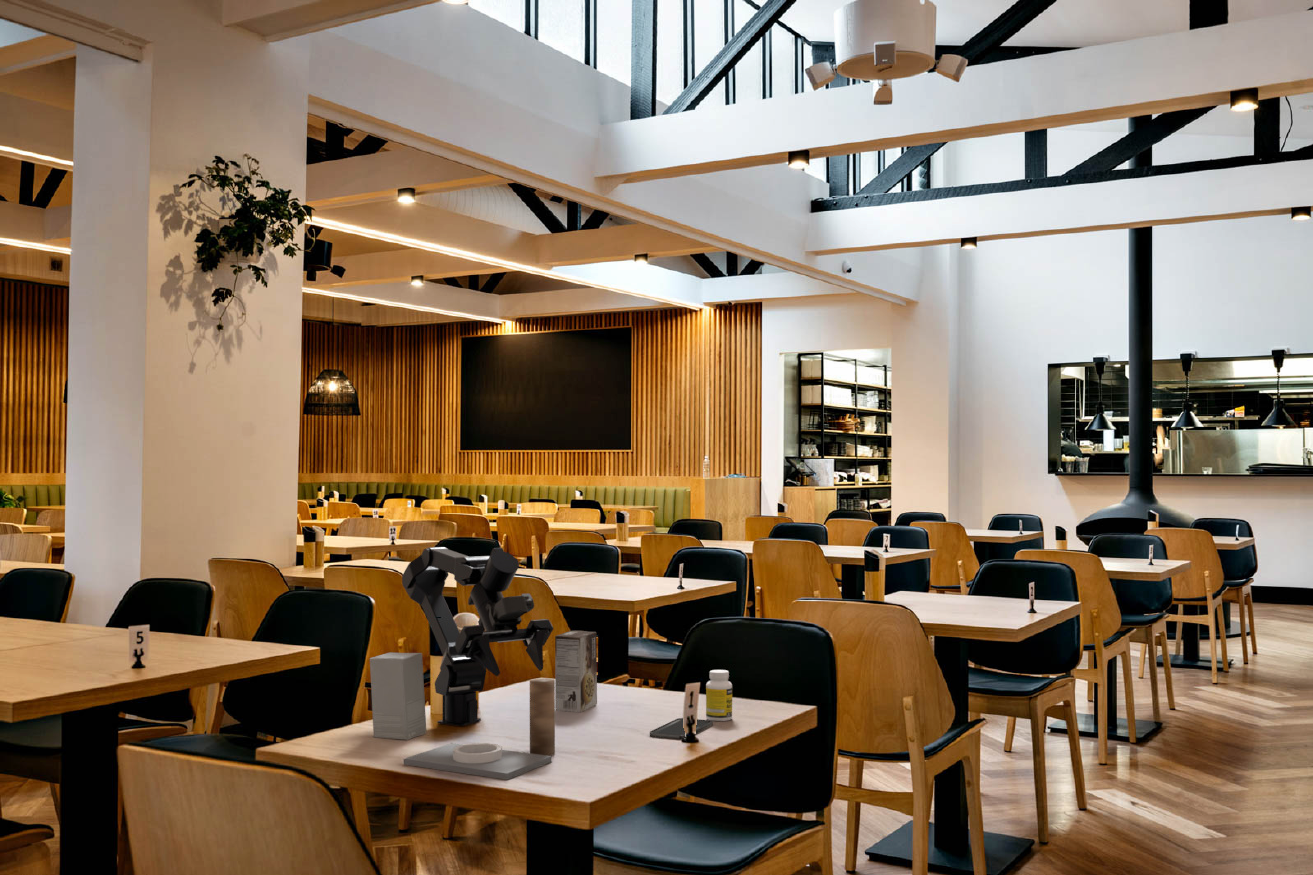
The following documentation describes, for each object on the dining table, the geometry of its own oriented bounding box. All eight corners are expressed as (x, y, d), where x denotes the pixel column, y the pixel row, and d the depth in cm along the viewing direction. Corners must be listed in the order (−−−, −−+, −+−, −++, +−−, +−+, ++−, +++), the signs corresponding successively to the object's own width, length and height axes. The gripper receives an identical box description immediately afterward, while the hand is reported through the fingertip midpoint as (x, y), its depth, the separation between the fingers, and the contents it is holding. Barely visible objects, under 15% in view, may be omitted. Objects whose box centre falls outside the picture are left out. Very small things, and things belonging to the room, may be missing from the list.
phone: (647, 732, 208) (679, 717, 221) (647, 738, 207) (679, 723, 221) (685, 736, 204) (715, 720, 218) (685, 742, 204) (715, 726, 218)
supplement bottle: (730, 722, 220) (730, 673, 220) (704, 721, 221) (703, 672, 221) (734, 716, 225) (733, 669, 226) (708, 716, 226) (707, 668, 227)
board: (403, 764, 187) (403, 749, 187) (451, 748, 199) (451, 734, 199) (507, 779, 177) (507, 764, 177) (551, 761, 188) (551, 747, 188)
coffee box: (571, 702, 241) (571, 630, 242) (597, 704, 239) (597, 631, 240) (553, 710, 233) (553, 635, 234) (581, 712, 231) (581, 636, 232)
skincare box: (427, 734, 211) (427, 652, 212) (403, 742, 204) (404, 657, 205) (392, 730, 214) (392, 650, 215) (368, 738, 208) (368, 655, 209)
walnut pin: (524, 754, 194) (524, 681, 194) (539, 749, 198) (538, 677, 198) (545, 757, 192) (545, 683, 192) (559, 752, 196) (559, 679, 196)
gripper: (461, 582, 201) (490, 649, 192) (548, 577, 212) (578, 640, 203) (443, 621, 207) (469, 688, 198) (528, 614, 218) (557, 677, 209)
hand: (520, 672), depth 202 cm, fingers open, 9 cm apart
